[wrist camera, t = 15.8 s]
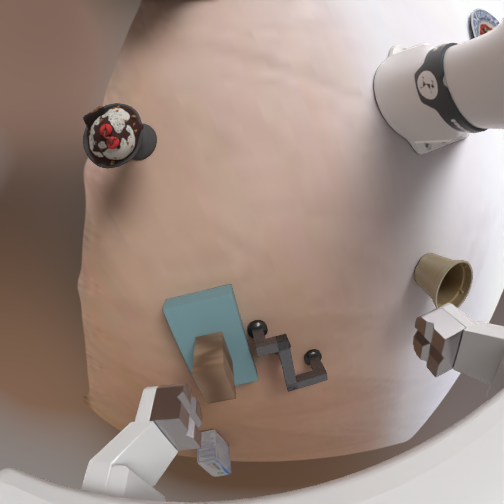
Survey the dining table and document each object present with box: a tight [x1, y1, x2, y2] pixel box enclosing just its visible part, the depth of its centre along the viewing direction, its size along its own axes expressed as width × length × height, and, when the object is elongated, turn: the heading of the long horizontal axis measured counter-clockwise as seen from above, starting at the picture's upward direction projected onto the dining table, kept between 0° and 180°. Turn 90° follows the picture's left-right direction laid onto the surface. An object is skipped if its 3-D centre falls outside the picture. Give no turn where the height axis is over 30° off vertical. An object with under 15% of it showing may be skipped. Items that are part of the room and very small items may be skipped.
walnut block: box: [192, 331, 236, 404], centre depth 36 cm, size 4×6×8 cm, turn 13°
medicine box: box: [197, 429, 231, 477], centre depth 47 cm, size 8×4×9 cm, turn 19°
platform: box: [163, 284, 259, 392], centre depth 41 cm, size 10×17×3 cm, turn 13°
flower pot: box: [415, 253, 473, 309], centre depth 40 cm, size 9×9×9 cm
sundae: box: [83, 103, 157, 168], centre depth 25 cm, size 7×7×15 cm
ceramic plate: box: [471, 9, 499, 38], centre depth 29 cm, size 26×26×3 cm
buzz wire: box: [248, 320, 327, 391], centre depth 42 cm, size 11×12×6 cm
